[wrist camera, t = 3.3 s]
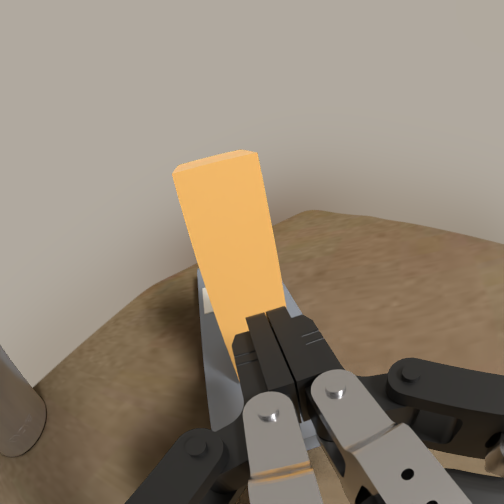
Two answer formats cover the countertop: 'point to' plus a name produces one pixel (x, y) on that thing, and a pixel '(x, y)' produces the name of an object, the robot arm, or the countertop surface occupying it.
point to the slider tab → (231, 237)
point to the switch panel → (231, 369)
